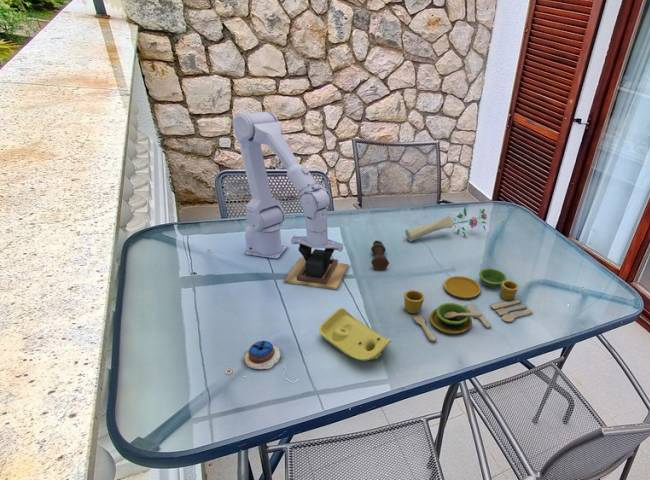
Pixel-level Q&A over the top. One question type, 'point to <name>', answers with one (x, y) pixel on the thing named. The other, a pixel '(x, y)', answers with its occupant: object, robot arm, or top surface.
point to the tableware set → (456, 315)
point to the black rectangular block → (315, 264)
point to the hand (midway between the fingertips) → (318, 266)
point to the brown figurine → (379, 256)
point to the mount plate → (328, 280)
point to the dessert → (262, 355)
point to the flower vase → (441, 226)
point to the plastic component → (352, 336)
